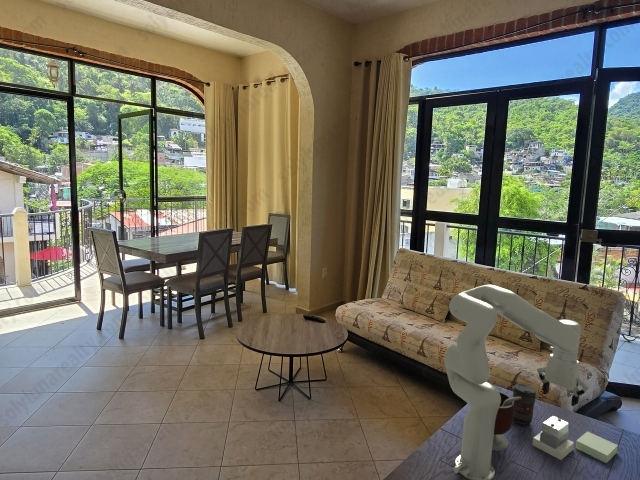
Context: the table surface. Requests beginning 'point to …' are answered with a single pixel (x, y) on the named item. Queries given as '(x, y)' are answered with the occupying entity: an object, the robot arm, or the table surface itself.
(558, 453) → the stand
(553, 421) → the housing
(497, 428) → the mate gourd
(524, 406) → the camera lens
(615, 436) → the table surface
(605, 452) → the stand
